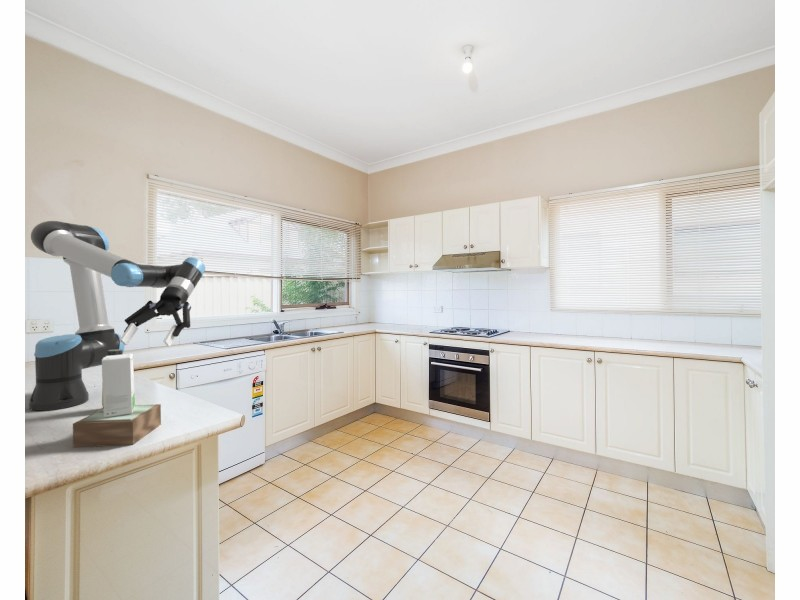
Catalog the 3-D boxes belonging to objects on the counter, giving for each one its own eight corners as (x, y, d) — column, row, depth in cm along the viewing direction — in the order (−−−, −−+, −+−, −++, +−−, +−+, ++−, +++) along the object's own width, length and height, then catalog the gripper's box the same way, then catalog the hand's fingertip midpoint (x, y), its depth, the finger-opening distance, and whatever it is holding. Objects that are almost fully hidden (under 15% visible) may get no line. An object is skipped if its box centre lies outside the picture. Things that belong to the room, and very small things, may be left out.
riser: (109, 426, 106) (109, 404, 106) (160, 424, 108) (160, 403, 108) (73, 447, 92) (72, 422, 92) (133, 444, 94) (132, 420, 94)
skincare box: (132, 414, 98) (131, 357, 98) (101, 418, 95) (100, 359, 94) (135, 405, 106) (134, 352, 105) (106, 409, 102) (105, 354, 102)
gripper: (216, 301, 127) (190, 351, 113) (147, 299, 128) (112, 349, 114) (208, 286, 122) (179, 337, 107) (136, 284, 123) (97, 334, 108)
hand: (144, 343), depth 110 cm, fingers open, 13 cm apart
